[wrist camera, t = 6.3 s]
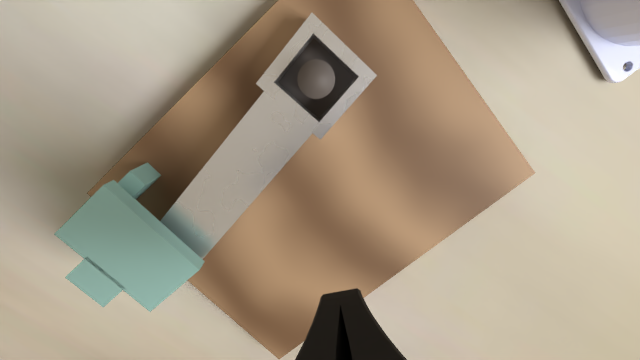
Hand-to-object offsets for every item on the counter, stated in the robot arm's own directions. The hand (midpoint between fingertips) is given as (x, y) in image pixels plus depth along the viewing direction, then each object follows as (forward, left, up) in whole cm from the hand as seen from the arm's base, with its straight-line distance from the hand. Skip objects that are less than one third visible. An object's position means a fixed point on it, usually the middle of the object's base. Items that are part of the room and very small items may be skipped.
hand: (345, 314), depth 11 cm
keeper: (+8, -7, -9) cm, 14 cm away
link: (+1, -6, -8) cm, 10 cm away
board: (0, -3, -9) cm, 10 cm away
